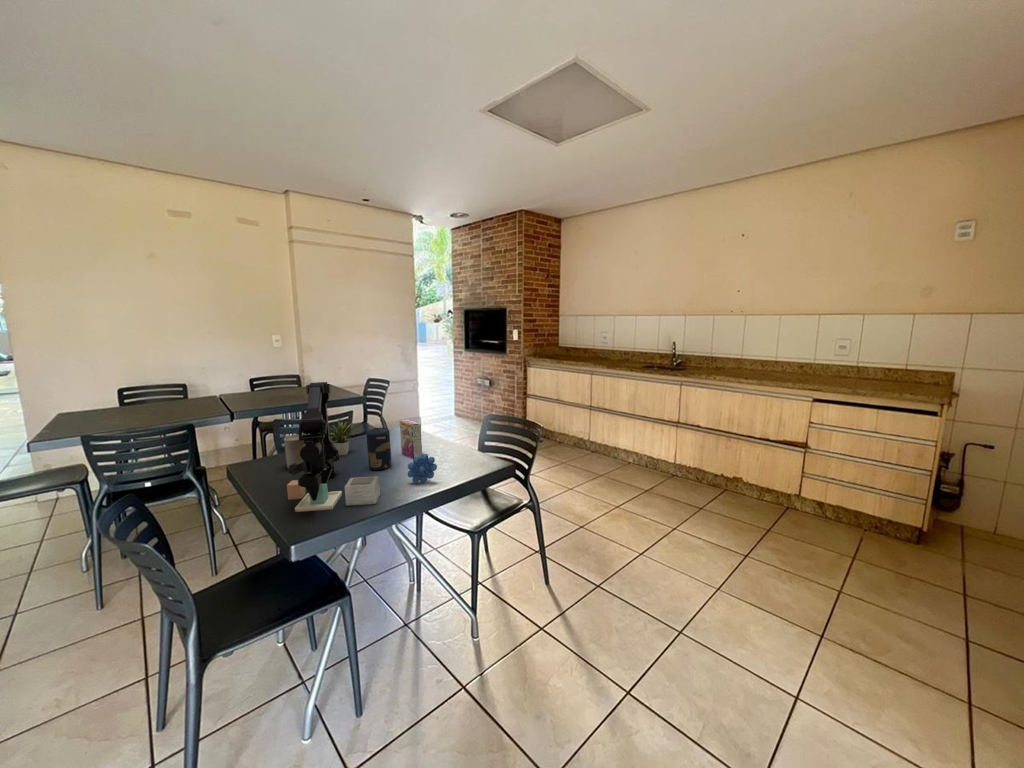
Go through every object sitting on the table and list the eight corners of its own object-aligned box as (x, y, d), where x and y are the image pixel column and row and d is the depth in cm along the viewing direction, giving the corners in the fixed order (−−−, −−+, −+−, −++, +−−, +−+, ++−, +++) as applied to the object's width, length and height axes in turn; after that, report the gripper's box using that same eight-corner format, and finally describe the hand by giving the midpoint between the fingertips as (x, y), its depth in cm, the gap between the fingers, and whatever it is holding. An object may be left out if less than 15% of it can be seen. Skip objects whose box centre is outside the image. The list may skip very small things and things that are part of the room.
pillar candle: (316, 463, 185) (312, 431, 183) (303, 470, 175) (299, 437, 173) (295, 462, 186) (292, 431, 184) (281, 470, 176) (278, 437, 174)
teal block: (315, 498, 146) (313, 484, 145) (328, 498, 147) (327, 483, 146) (310, 504, 142) (309, 489, 141) (324, 503, 142) (322, 488, 142)
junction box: (352, 495, 150) (350, 476, 149) (380, 493, 151) (378, 474, 150) (346, 505, 142) (344, 485, 141) (375, 503, 143) (374, 483, 142)
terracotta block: (293, 494, 152) (291, 480, 151) (305, 493, 152) (304, 479, 152) (288, 499, 147) (286, 485, 147) (301, 498, 148) (300, 484, 147)
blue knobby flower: (439, 478, 165) (438, 449, 163) (436, 485, 159) (435, 455, 157) (410, 479, 165) (408, 450, 163) (406, 485, 158) (405, 456, 156)
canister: (388, 462, 185) (385, 423, 182) (394, 468, 177) (392, 428, 175) (366, 466, 180) (363, 426, 177) (372, 473, 172) (369, 431, 169)
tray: (307, 496, 149) (307, 493, 149) (342, 494, 151) (341, 491, 151) (295, 511, 138) (294, 508, 138) (332, 509, 139) (332, 505, 139)
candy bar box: (400, 454, 196) (399, 420, 194) (410, 451, 200) (408, 418, 197) (413, 459, 188) (411, 424, 186) (422, 456, 192) (421, 422, 189)
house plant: (339, 461, 187) (336, 426, 184) (318, 457, 193) (315, 423, 190) (363, 452, 200) (360, 419, 197) (342, 448, 206) (339, 417, 203)
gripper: (300, 445, 150) (304, 485, 152) (278, 462, 131) (283, 508, 134) (332, 443, 151) (335, 483, 153) (315, 460, 133) (319, 506, 135)
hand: (318, 494), depth 144 cm, fingers open, 9 cm apart
